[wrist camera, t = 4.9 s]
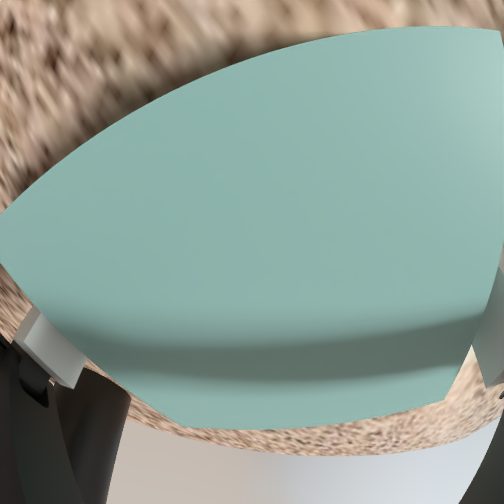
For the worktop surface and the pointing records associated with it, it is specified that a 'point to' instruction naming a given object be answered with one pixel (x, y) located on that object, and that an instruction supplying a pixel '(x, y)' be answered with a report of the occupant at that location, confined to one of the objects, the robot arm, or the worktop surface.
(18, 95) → the worktop surface
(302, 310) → the teal brick
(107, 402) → the water bottle
